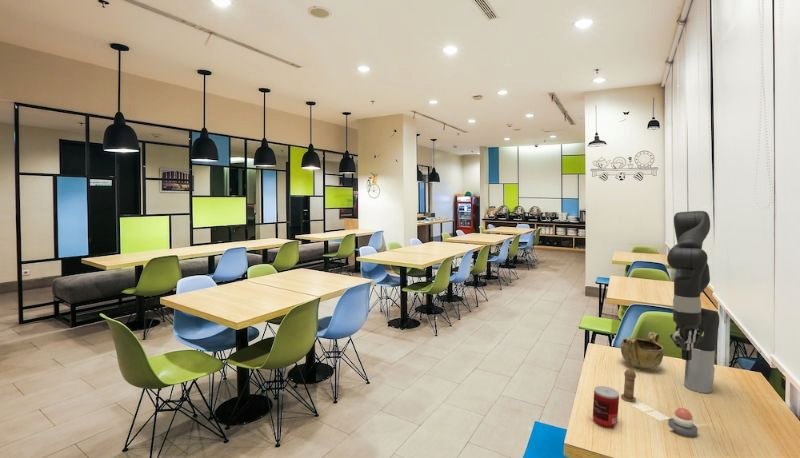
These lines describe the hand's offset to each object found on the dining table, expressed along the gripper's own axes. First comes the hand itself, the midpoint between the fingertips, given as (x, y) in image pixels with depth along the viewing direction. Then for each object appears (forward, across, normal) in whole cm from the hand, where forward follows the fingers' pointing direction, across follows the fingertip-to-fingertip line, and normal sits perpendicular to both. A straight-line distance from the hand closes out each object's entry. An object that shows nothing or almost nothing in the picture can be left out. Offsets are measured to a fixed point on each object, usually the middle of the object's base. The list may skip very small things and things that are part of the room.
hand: (686, 359), depth 133 cm
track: (+24, +3, -14) cm, 28 cm away
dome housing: (+24, +2, 0) cm, 24 cm away
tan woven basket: (+26, -32, -42) cm, 59 cm away
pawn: (+22, +2, -20) cm, 30 cm away
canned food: (+22, +23, -12) cm, 34 cm away
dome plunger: (+22, +2, 0) cm, 22 cm away
